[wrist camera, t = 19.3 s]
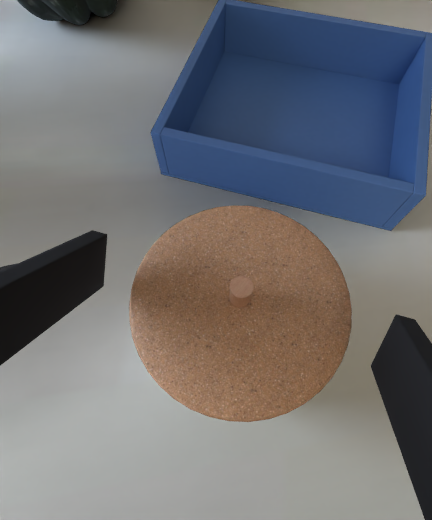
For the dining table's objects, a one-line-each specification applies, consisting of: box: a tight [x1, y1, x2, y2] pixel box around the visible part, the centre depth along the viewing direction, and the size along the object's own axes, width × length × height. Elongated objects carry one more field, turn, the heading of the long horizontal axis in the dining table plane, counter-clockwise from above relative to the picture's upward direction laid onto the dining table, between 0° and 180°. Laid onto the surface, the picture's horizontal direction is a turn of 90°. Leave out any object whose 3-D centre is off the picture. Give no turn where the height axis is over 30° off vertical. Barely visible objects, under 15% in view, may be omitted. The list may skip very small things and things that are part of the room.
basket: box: [151, 0, 432, 231], centre depth 28 cm, size 20×18×5 cm
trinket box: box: [129, 206, 352, 422], centre depth 18 cm, size 11×11×9 cm
